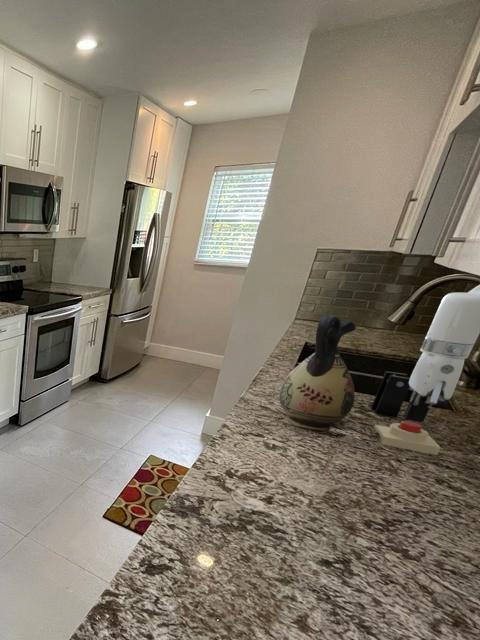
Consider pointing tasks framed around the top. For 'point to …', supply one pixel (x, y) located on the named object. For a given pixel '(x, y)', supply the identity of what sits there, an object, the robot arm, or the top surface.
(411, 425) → the button
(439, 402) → the lever
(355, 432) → the top surface
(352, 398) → the ceramic jug
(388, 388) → the bracket
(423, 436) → the control block
